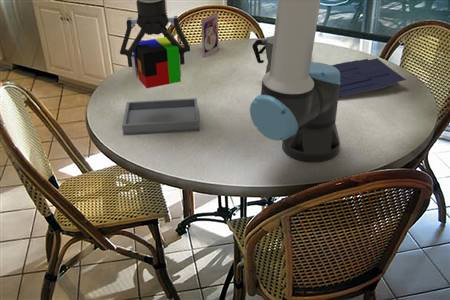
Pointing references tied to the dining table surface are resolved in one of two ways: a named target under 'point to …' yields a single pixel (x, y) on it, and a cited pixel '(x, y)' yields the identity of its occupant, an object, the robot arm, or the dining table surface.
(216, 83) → the dining table surface
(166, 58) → the puzzle toy
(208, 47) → the greeting card
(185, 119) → the tray
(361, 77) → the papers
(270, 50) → the coffeepot
